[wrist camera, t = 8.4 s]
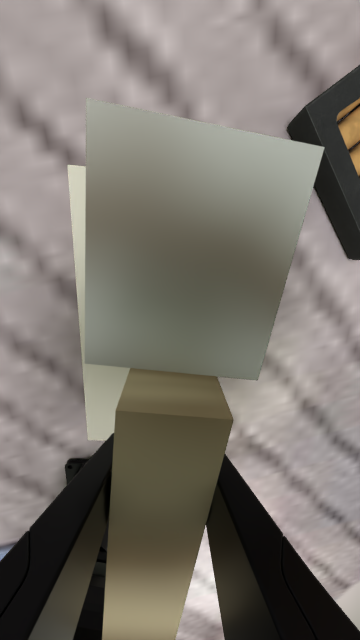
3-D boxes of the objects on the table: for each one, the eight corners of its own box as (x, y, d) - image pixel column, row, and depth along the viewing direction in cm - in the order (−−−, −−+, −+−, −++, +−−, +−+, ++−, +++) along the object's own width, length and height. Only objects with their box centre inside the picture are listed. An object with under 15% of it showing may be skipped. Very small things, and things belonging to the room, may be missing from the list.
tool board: (182, 432, 21) (183, 442, 20) (92, 429, 20) (87, 440, 19) (207, 185, 15) (210, 179, 13) (75, 172, 14) (67, 164, 13)
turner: (198, 550, 12) (207, 645, 9) (90, 548, 11) (64, 648, 8) (300, 163, 6) (410, 86, 3) (99, 124, 6) (30, -7, 3)
